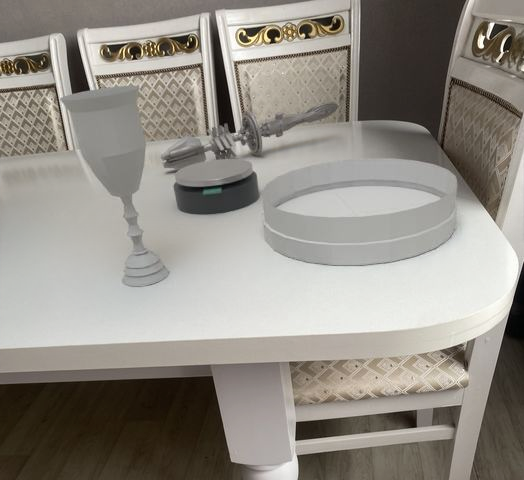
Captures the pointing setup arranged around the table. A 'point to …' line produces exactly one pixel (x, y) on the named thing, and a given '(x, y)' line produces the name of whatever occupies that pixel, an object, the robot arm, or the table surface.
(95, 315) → the table surface
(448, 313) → the table surface
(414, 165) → the gray round ring
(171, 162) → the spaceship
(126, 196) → the chalice
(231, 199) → the scale
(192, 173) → the scale pan
